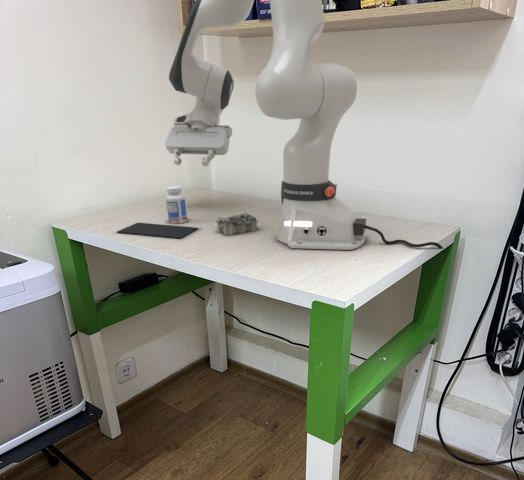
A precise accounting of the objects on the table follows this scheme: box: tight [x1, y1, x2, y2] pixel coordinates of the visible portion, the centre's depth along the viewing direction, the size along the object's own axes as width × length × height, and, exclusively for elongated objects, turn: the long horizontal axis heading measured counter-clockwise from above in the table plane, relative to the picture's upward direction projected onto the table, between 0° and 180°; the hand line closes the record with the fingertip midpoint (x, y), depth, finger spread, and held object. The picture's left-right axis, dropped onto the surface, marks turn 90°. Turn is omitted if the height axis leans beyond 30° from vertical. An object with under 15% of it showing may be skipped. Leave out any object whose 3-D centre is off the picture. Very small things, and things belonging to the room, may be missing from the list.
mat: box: [116, 222, 199, 240], centre depth 133 cm, size 20×10×1 cm, turn 69°
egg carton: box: [214, 211, 260, 236], centre depth 131 cm, size 11×8×4 cm
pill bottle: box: [165, 185, 188, 224], centre depth 140 cm, size 6×5×10 cm
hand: (190, 164), depth 143 cm, fingers open, 8 cm apart
